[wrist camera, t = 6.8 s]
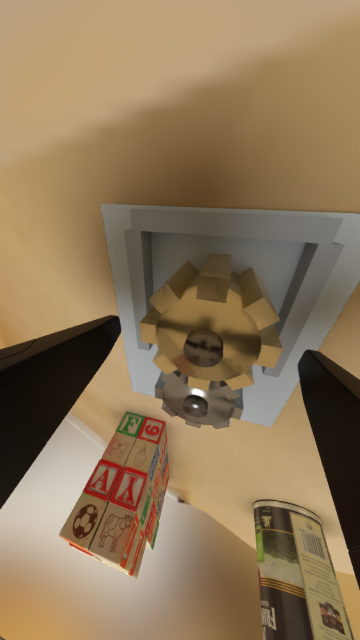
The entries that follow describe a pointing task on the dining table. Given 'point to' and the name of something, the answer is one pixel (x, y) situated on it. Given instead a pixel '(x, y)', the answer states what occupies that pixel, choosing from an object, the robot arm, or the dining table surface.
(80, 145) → the dining table surface
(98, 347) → the robot arm
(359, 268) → the gear board
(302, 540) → the coffee can
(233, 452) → the dining table surface
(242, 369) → the brass gear
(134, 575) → the stack of blocks
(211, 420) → the gear
